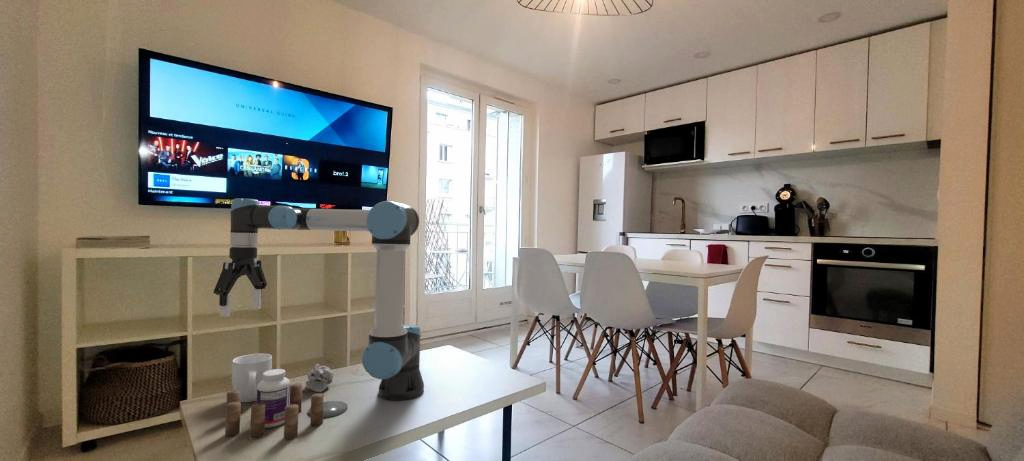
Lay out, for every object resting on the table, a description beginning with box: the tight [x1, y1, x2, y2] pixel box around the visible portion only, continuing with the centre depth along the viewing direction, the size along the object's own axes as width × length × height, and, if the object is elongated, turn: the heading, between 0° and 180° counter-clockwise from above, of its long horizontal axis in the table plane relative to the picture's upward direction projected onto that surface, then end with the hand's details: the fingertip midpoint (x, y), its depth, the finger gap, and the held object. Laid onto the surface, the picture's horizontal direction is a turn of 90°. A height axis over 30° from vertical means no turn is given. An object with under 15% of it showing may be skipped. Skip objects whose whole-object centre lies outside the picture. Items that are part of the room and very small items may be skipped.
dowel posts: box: [224, 382, 325, 441], centre depth 115 cm, size 28×18×8 cm, turn 86°
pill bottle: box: [256, 368, 291, 429], centre depth 116 cm, size 8×8×14 cm
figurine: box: [305, 363, 334, 393], centre depth 143 cm, size 8×10×12 cm
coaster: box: [307, 400, 349, 419], centre depth 125 cm, size 11×11×1 cm
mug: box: [231, 353, 273, 403], centre depth 130 cm, size 15×11×13 cm
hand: (241, 312), depth 131 cm, fingers open, 13 cm apart
